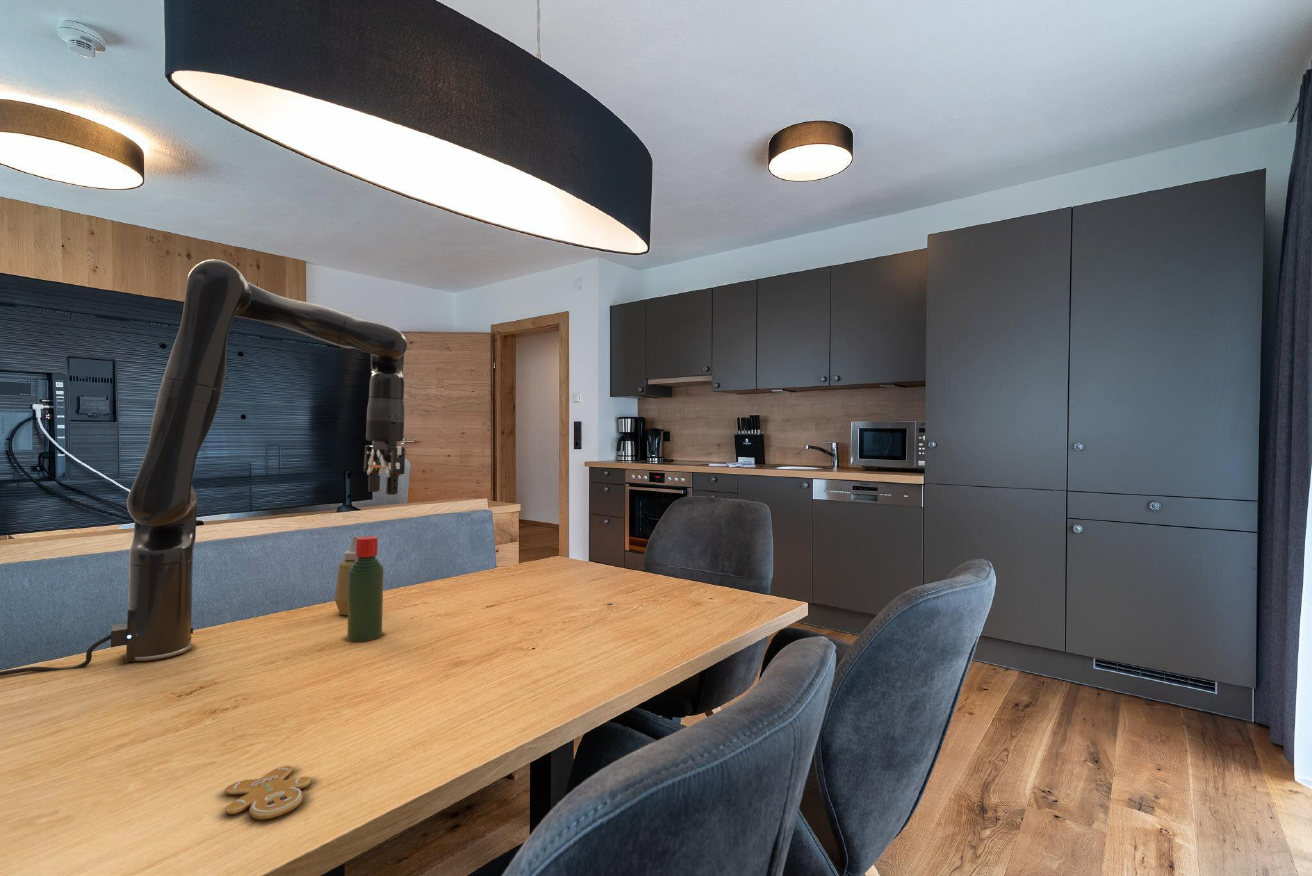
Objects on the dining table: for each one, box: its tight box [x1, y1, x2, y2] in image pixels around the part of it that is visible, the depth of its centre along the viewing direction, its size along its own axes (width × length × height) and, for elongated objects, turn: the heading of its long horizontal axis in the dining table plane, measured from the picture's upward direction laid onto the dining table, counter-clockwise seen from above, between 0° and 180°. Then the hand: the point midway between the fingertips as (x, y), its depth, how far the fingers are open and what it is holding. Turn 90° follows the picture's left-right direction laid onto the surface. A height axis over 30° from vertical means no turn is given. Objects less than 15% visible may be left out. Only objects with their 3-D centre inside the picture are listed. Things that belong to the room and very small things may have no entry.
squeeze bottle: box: [334, 535, 359, 616], centre depth 137 cm, size 8×8×18 cm
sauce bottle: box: [346, 556, 384, 643], centre depth 120 cm, size 6×6×20 cm
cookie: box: [224, 765, 312, 820], centre depth 65 cm, size 8×1×10 cm
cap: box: [356, 535, 379, 557], centre depth 120 cm, size 4×4×4 cm
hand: (382, 493), depth 127 cm, fingers open, 8 cm apart
